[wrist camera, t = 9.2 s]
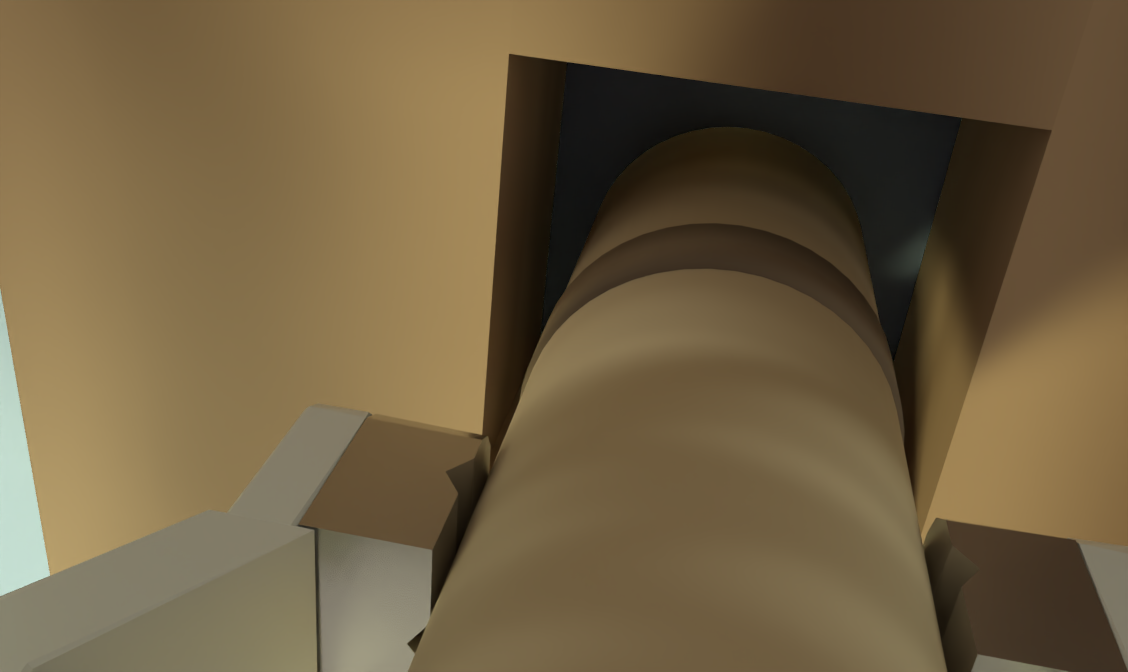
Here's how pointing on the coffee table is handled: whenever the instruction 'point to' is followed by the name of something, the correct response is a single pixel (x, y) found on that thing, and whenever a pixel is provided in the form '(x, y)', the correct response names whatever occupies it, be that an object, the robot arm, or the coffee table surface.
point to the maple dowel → (702, 444)
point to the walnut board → (513, 230)
